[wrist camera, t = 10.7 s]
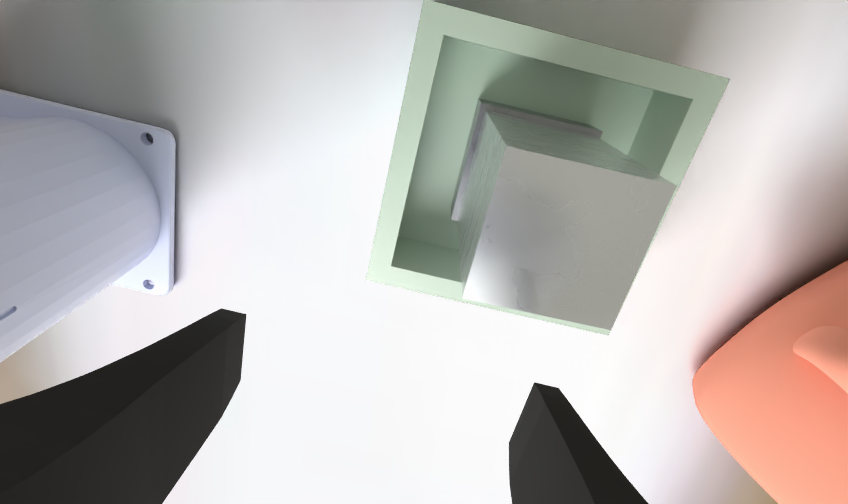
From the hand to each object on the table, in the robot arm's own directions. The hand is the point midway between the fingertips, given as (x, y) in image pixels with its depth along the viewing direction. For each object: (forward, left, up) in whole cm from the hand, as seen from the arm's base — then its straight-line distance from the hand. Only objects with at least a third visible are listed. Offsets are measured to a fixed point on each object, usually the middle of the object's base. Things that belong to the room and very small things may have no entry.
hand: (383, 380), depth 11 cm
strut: (+3, +4, -9) cm, 11 cm away
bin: (+3, +4, -10) cm, 12 cm away
